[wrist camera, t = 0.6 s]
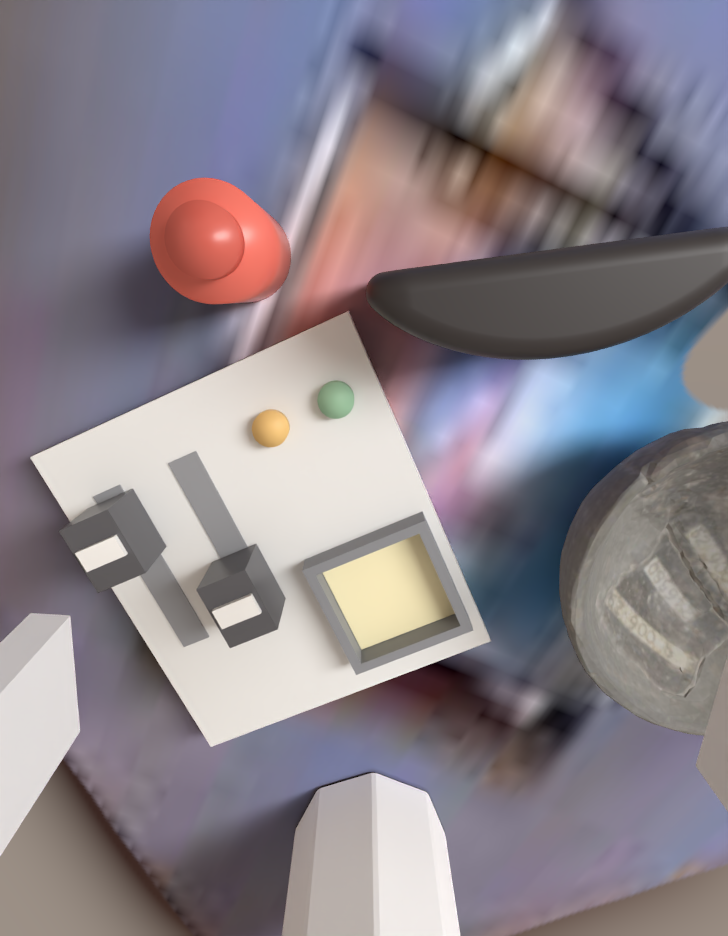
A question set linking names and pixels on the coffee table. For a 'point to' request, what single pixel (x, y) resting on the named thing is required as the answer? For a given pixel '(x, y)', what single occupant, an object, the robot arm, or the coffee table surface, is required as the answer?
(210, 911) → the coffee table surface
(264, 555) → the panel
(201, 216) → the cap
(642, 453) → the bowl
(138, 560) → the breaker
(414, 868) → the white canister
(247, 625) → the breaker
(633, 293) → the leaning round-cornered charcoal block
